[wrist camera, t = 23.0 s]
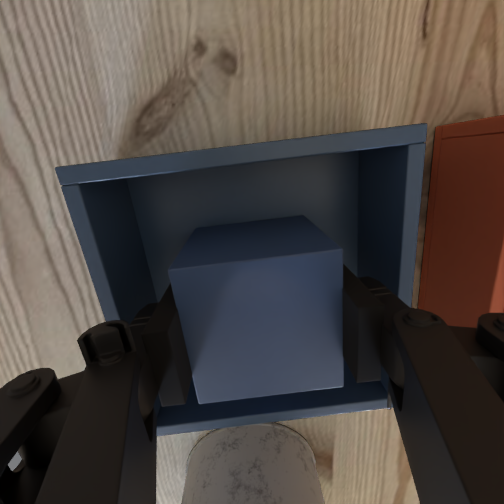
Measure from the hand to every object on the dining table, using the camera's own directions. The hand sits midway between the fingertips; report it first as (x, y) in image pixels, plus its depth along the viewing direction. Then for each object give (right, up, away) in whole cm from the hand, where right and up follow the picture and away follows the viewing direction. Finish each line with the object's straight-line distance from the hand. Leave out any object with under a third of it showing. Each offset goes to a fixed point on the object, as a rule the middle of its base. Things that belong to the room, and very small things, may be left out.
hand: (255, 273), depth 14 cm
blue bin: (0, 0, +1) cm, 1 cm away
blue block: (0, 0, 0) cm, 0 cm away
